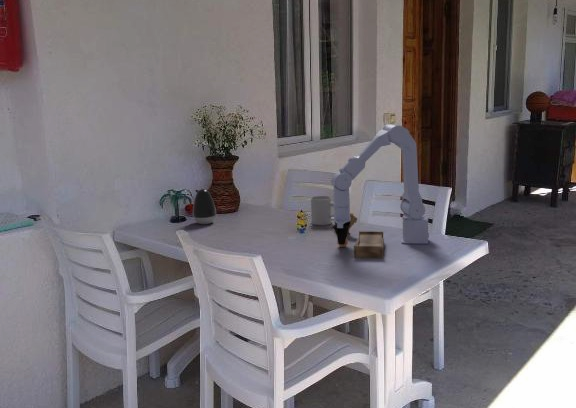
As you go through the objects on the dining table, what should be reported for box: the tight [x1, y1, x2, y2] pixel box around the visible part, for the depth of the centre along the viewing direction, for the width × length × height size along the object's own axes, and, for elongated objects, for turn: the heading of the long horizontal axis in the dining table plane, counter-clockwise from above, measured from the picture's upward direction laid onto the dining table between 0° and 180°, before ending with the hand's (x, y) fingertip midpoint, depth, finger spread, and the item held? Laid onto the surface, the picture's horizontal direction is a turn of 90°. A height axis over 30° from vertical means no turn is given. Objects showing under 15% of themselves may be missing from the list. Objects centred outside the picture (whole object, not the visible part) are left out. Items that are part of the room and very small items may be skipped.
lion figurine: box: [331, 212, 358, 236], centre depth 234 cm, size 15×5×9 cm, turn 33°
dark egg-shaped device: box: [192, 188, 217, 225], centre depth 259 cm, size 10×10×15 cm
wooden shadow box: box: [353, 230, 385, 259], centre depth 211 cm, size 10×19×4 cm, turn 169°
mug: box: [310, 195, 334, 226], centre depth 250 cm, size 12×8×11 cm
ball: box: [336, 237, 349, 248], centre depth 215 cm, size 4×4×4 cm
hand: (342, 242), depth 215 cm, fingers closed on ball, 4 cm apart
